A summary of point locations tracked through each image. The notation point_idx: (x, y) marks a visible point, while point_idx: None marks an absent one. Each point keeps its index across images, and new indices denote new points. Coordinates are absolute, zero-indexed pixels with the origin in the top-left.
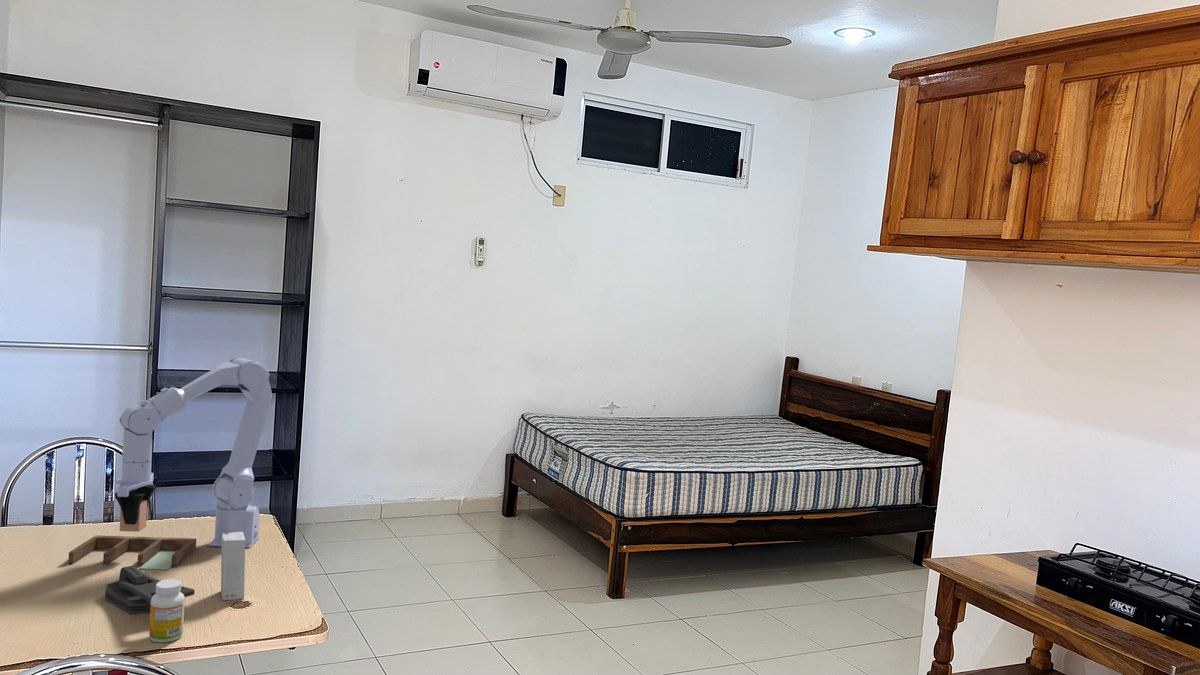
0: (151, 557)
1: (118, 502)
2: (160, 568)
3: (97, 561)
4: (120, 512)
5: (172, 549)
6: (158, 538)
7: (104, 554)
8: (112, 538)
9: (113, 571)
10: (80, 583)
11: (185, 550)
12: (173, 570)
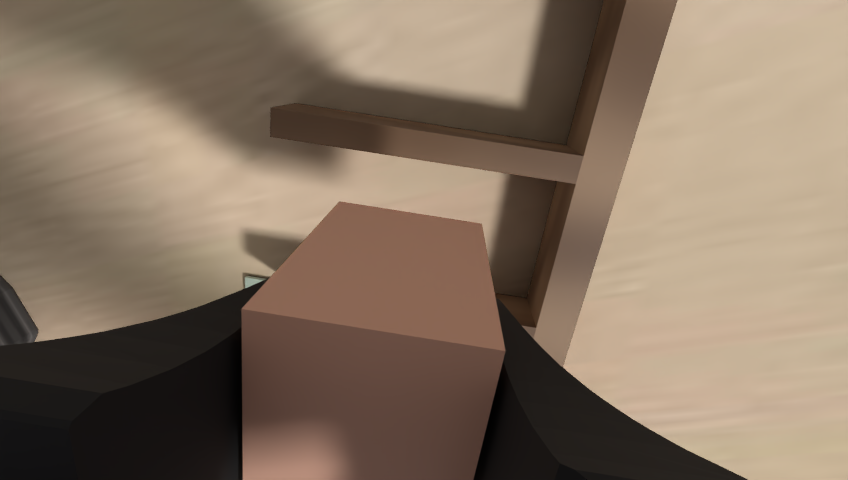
0: None
1: (75, 338)
2: None
3: (354, 55)
4: (286, 261)
5: None
6: (553, 329)
7: (272, 113)
8: (606, 72)
9: (207, 177)
10: (22, 72)
11: None
12: None
